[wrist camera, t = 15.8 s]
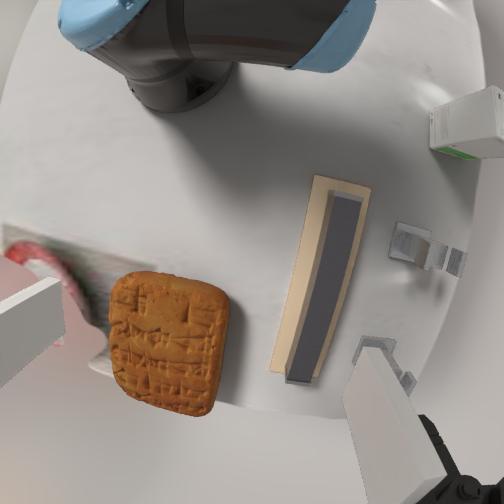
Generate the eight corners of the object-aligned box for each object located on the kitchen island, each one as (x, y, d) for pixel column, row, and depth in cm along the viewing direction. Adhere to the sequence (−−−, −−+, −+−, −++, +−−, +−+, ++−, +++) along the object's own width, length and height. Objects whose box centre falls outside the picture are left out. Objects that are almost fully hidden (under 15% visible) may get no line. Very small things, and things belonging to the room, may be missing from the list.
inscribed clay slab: (217, 396, 46) (209, 428, 38) (127, 370, 46) (108, 396, 38) (241, 281, 40) (234, 304, 33) (130, 255, 41) (102, 270, 33)
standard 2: (396, 221, 37) (432, 234, 27) (429, 230, 37) (469, 245, 27) (387, 255, 38) (420, 278, 28) (421, 262, 38) (458, 285, 28)
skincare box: (427, 148, 34) (495, 137, 19) (427, 107, 33) (491, 81, 17) (468, 161, 34) (536, 159, 19) (468, 122, 32) (533, 108, 17)
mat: (314, 174, 36) (314, 174, 36) (370, 188, 36) (371, 188, 36) (269, 369, 43) (269, 370, 43) (317, 375, 43) (317, 377, 43)
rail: (328, 189, 36) (335, 190, 32) (354, 196, 36) (364, 197, 32) (284, 366, 43) (285, 383, 38) (307, 370, 43) (309, 386, 38)
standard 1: (362, 335, 41) (382, 374, 31) (394, 339, 41) (420, 376, 31) (351, 361, 42) (368, 403, 32) (383, 364, 42) (404, 403, 32)
